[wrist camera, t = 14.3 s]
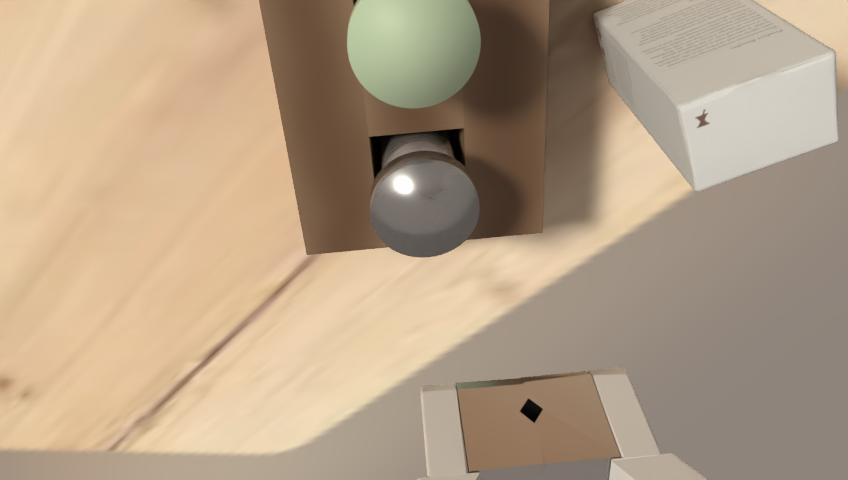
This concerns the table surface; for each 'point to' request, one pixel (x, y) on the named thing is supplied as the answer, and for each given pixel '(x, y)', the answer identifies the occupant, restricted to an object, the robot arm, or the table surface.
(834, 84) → the skincare box
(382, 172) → the plug
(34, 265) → the table surface
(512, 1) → the block
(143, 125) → the table surface
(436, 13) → the plug mid
